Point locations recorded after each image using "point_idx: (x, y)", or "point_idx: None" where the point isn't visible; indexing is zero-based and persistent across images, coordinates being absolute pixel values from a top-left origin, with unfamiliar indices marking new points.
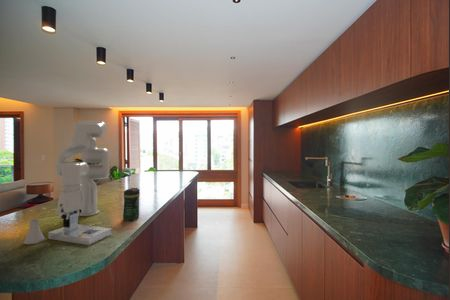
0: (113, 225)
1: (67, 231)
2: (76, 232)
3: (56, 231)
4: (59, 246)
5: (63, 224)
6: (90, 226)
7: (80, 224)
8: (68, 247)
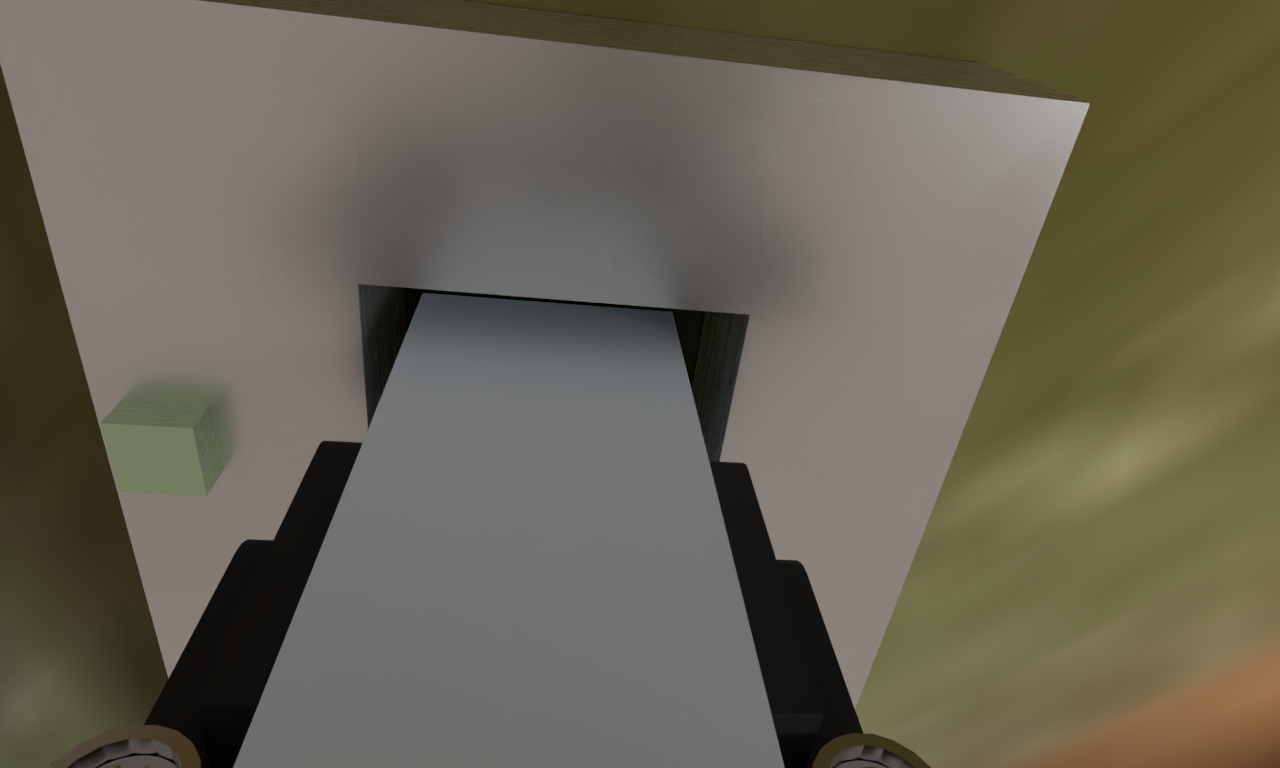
0: (1189, 699)
1: None
2: None
3: (196, 216)
4: (11, 605)
5: (229, 570)
6: None
7: (970, 406)
8: (82, 738)
